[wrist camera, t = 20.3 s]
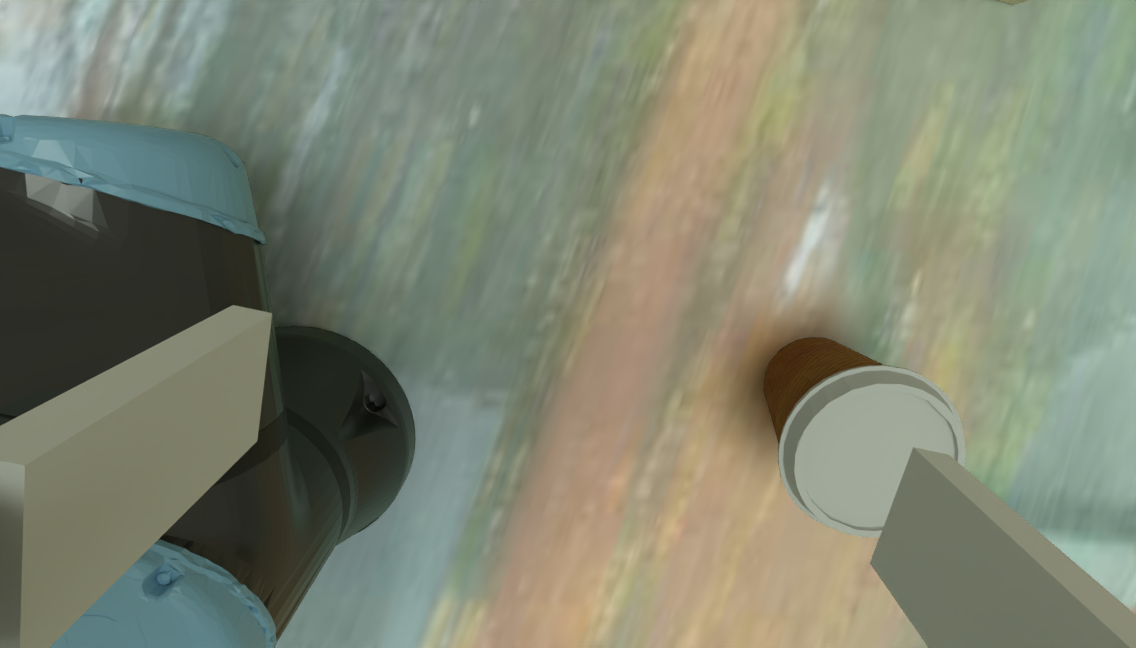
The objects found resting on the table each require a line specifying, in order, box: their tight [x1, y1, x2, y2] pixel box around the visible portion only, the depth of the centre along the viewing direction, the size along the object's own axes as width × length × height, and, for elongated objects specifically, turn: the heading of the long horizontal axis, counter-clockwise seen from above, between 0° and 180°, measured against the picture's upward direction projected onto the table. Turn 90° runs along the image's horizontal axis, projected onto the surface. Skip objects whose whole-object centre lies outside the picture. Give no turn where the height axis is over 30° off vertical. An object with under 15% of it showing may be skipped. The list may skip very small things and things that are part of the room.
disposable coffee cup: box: [764, 337, 966, 537], centre depth 43 cm, size 10×10×12 cm
